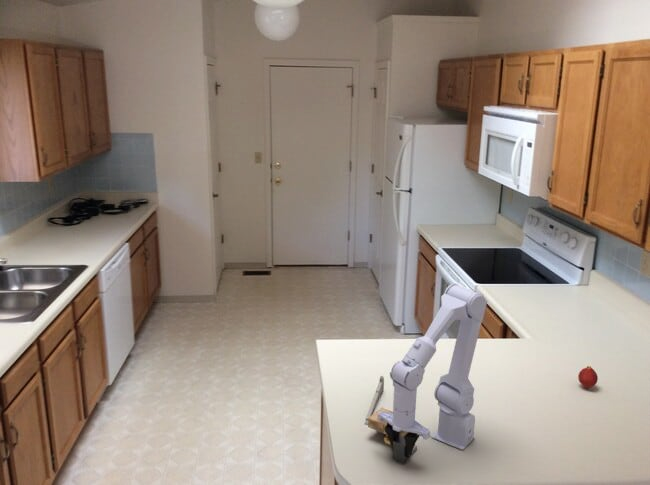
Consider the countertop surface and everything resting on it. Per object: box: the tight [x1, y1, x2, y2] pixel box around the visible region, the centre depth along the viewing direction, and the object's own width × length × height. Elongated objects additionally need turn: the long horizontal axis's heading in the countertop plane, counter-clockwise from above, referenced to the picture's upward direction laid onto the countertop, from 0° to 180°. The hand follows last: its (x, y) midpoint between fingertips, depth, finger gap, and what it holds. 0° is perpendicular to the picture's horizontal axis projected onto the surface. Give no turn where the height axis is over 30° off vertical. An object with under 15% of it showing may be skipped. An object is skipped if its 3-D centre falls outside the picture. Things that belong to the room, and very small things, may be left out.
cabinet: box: [367, 407, 409, 437], centre depth 161 cm, size 10×7×6 cm
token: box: [383, 435, 391, 447], centre depth 160 cm, size 4×4×1 cm
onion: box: [577, 365, 599, 389], centre depth 190 cm, size 6×6×8 cm
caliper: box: [364, 375, 385, 425], centre depth 177 cm, size 20×1×6 cm, turn 162°
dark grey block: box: [391, 435, 418, 465], centre depth 154 cm, size 8×4×6 cm, turn 143°
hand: (401, 452), depth 152 cm, fingers closed on dark grey block, 3 cm apart
